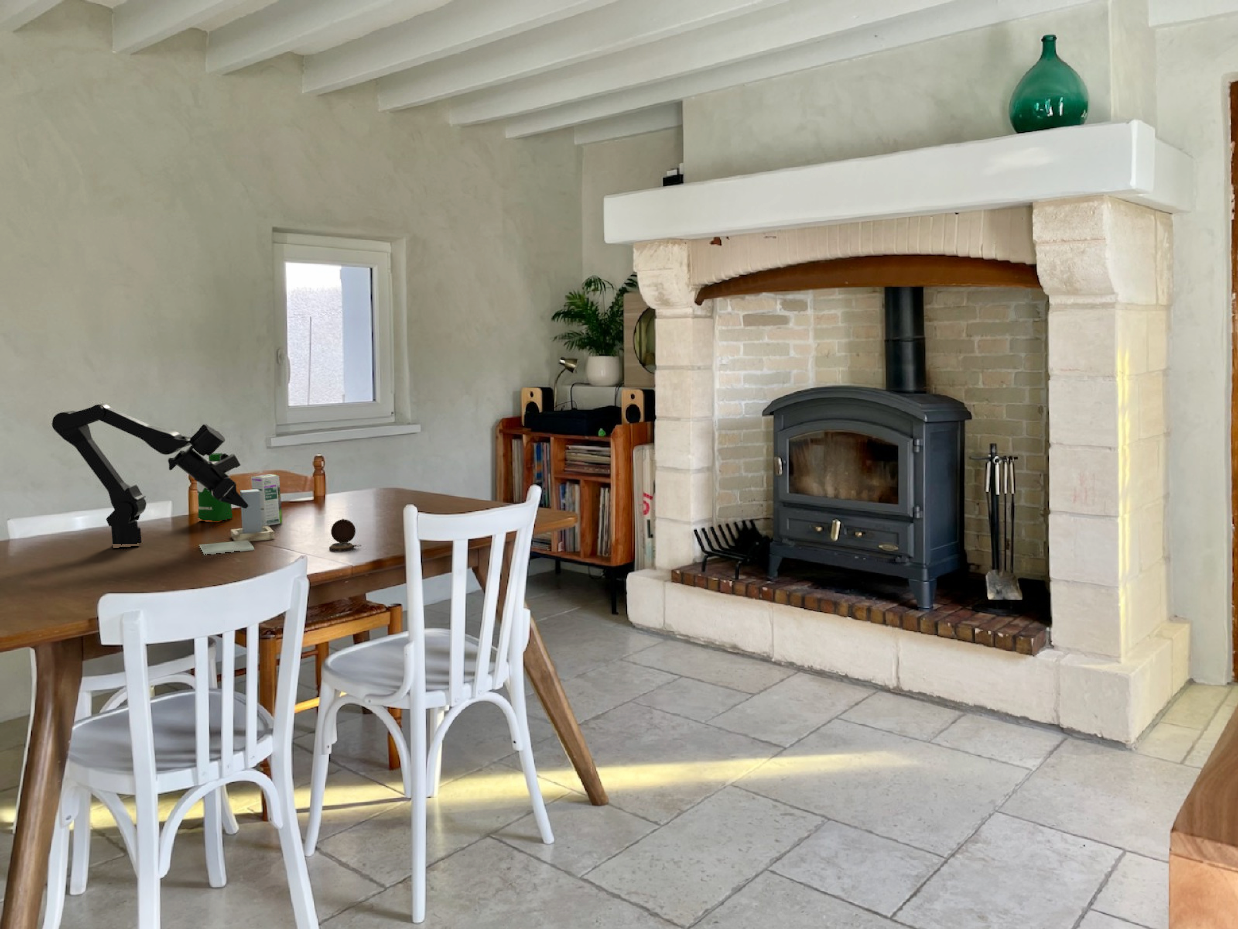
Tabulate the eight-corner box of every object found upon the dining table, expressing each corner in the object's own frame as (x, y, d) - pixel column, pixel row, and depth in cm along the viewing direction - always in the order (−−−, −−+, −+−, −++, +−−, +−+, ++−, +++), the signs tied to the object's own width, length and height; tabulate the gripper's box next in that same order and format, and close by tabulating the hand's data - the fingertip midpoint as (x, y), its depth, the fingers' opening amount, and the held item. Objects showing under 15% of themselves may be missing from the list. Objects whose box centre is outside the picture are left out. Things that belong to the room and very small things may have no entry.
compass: (327, 552, 252) (325, 524, 251) (332, 546, 260) (331, 519, 259) (359, 551, 253) (358, 523, 252) (364, 545, 261) (362, 517, 260)
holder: (235, 542, 267) (235, 535, 267) (231, 536, 276) (230, 529, 275) (274, 538, 271) (274, 531, 271) (268, 533, 280) (268, 526, 280)
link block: (245, 540, 271) (242, 492, 269) (242, 537, 275) (239, 490, 273) (262, 538, 273) (259, 491, 271) (260, 535, 277) (257, 489, 275)
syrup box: (265, 526, 290) (262, 477, 289) (253, 524, 294) (250, 475, 292) (282, 523, 295) (279, 474, 293) (270, 521, 298) (268, 473, 297)
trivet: (203, 555, 251) (203, 552, 251) (199, 547, 262) (199, 544, 262) (254, 550, 257) (254, 547, 257) (247, 542, 267) (247, 540, 267)
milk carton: (237, 518, 306) (233, 453, 303) (217, 523, 297) (213, 456, 295) (213, 517, 308) (208, 452, 306) (192, 522, 300) (188, 456, 297)
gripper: (223, 447, 259) (270, 486, 265) (216, 442, 276) (260, 478, 282) (192, 480, 256) (241, 518, 263) (187, 472, 273) (233, 508, 279)
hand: (245, 504), depth 272 cm, fingers open, 9 cm apart
